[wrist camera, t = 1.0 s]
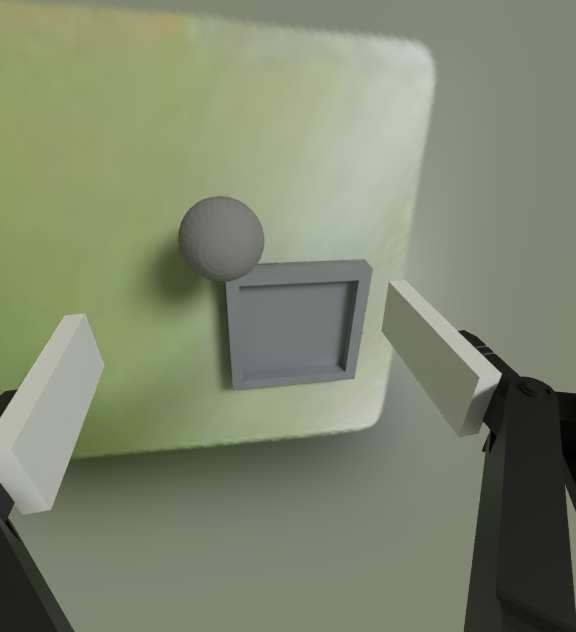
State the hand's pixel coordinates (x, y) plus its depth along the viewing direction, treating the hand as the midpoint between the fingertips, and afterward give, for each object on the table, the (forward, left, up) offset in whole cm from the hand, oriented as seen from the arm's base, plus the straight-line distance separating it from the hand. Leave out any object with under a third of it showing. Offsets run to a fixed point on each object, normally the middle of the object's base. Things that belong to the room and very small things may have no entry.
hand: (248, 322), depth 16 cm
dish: (+6, -12, -19) cm, 23 cm away
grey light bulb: (-1, 0, -19) cm, 19 cm away
